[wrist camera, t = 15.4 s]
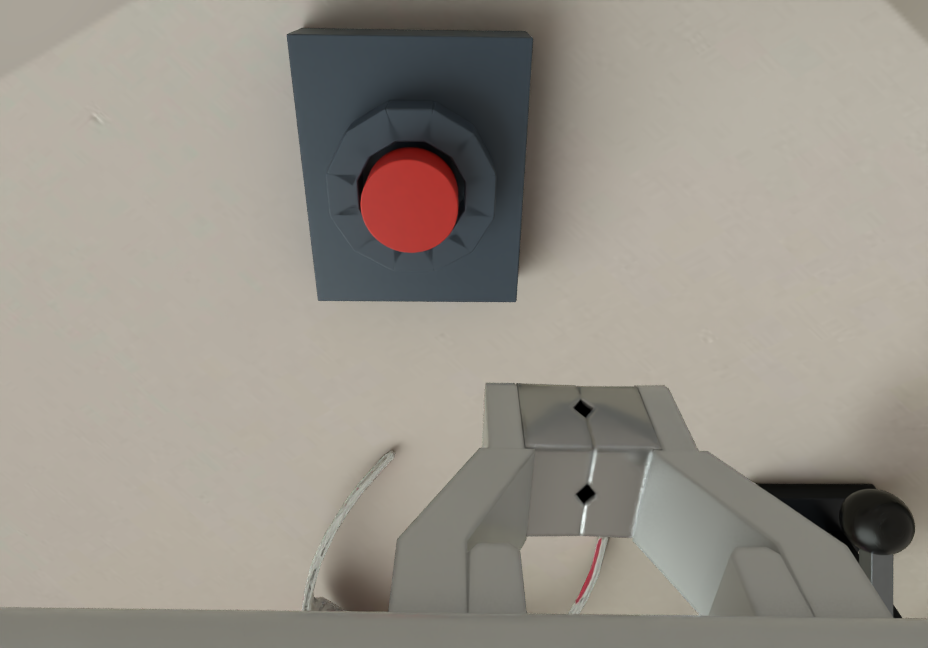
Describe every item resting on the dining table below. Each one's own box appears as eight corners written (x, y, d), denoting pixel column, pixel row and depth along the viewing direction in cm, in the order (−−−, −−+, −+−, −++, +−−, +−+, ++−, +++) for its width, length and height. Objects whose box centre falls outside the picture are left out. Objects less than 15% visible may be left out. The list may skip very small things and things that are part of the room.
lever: (825, 481, 33) (865, 498, 30) (885, 481, 33) (931, 498, 30) (825, 709, 33) (865, 750, 30) (884, 709, 33) (931, 750, 30)
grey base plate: (300, 28, 25) (274, 38, 21) (526, 31, 25) (538, 42, 21) (327, 278, 30) (310, 318, 27) (512, 279, 30) (519, 320, 27)
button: (363, 146, 23) (356, 158, 22) (458, 147, 23) (458, 159, 22) (369, 235, 25) (363, 252, 24) (457, 236, 25) (457, 253, 24)
